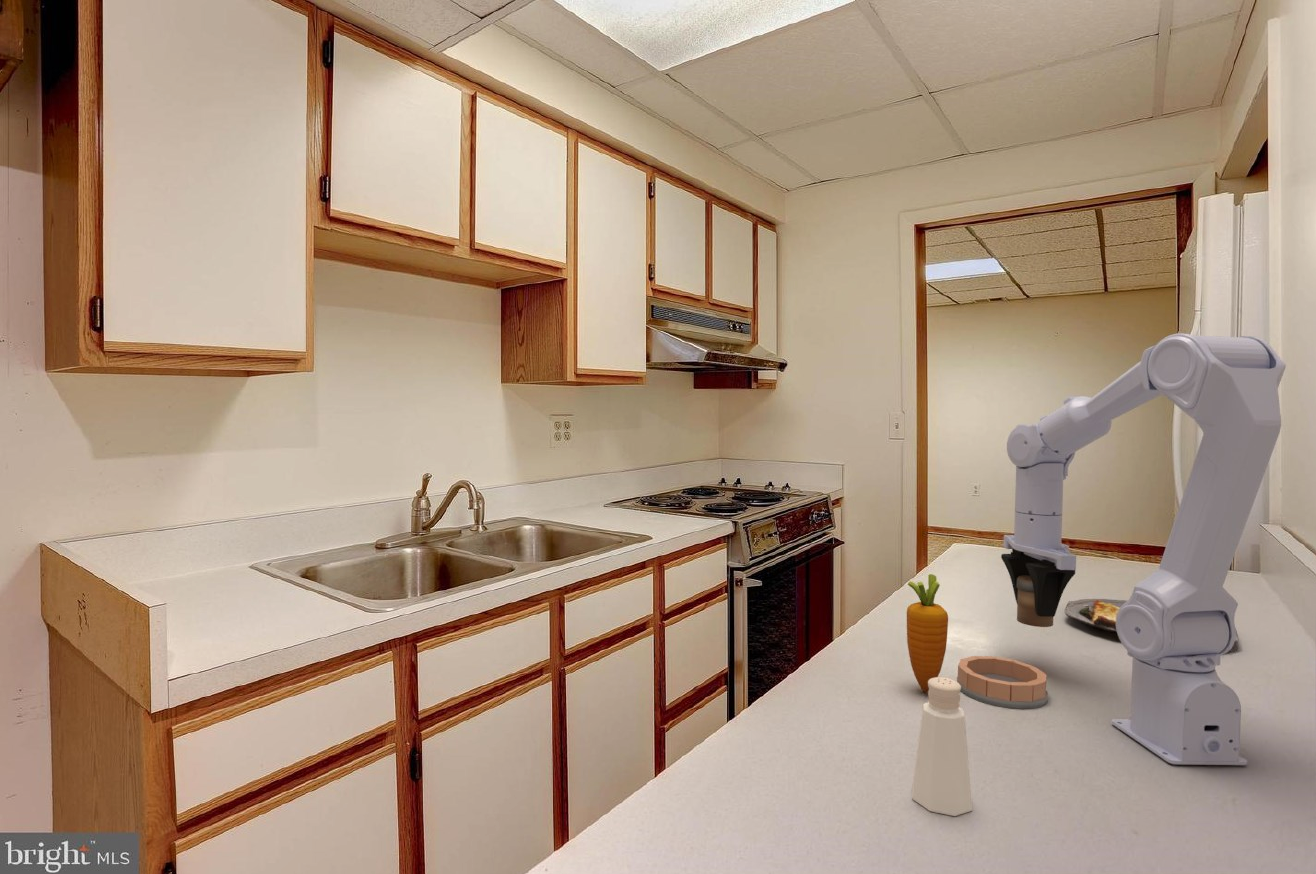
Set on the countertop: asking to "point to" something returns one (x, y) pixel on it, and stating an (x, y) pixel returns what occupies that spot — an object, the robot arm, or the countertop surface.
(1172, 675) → the robot arm
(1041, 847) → the countertop surface
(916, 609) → the carrot
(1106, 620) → the food plate
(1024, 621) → the walnut pepper mill
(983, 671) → the coaster
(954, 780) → the salt shaker
